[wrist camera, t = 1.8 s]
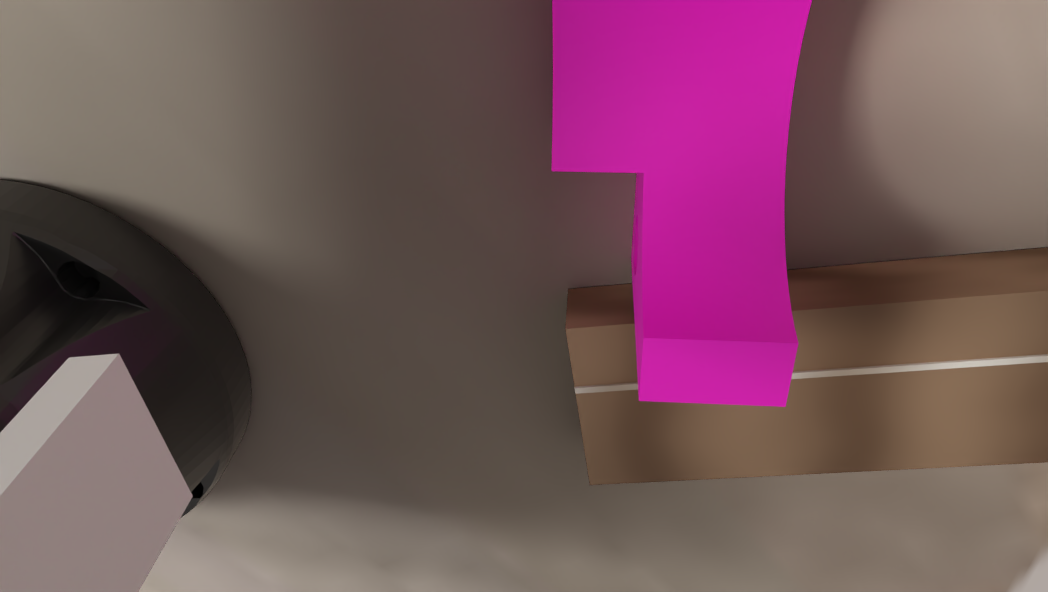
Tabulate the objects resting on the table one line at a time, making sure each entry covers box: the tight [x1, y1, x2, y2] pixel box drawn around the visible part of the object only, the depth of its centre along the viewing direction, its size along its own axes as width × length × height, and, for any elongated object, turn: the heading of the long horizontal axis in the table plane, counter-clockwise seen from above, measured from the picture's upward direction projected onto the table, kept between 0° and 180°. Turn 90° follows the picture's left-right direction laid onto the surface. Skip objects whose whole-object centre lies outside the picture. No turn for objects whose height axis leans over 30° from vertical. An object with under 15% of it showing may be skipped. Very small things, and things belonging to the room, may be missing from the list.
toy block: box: [552, 0, 812, 407], centre depth 20 cm, size 15×6×8 cm, turn 1°
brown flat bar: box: [565, 247, 1048, 485], centre depth 28 cm, size 17×7×2 cm, turn 99°
